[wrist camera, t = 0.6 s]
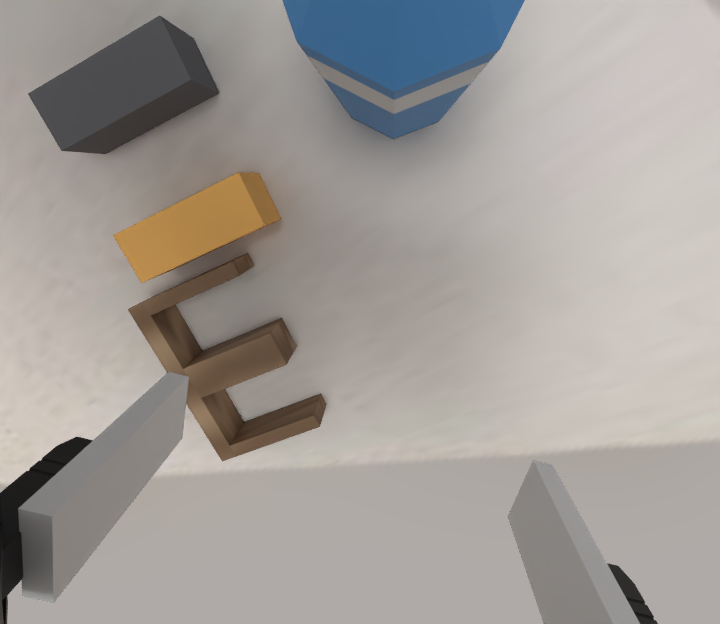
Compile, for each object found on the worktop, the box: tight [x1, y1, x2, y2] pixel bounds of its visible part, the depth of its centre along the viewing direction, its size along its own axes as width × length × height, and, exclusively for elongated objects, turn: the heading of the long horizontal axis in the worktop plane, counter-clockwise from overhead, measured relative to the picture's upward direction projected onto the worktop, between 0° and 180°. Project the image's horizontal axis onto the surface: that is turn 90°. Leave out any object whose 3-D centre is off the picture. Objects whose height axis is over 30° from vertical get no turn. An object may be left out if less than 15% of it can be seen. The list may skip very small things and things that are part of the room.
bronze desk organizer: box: [128, 253, 326, 461], centre depth 37 cm, size 16×10×4 cm, turn 24°
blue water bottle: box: [283, 0, 524, 139], centre depth 19 cm, size 9×9×25 cm
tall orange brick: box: [113, 173, 281, 283], centre depth 33 cm, size 4×11×5 cm, turn 114°
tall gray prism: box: [28, 16, 219, 154], centre depth 31 cm, size 4×11×5 cm, turn 113°
